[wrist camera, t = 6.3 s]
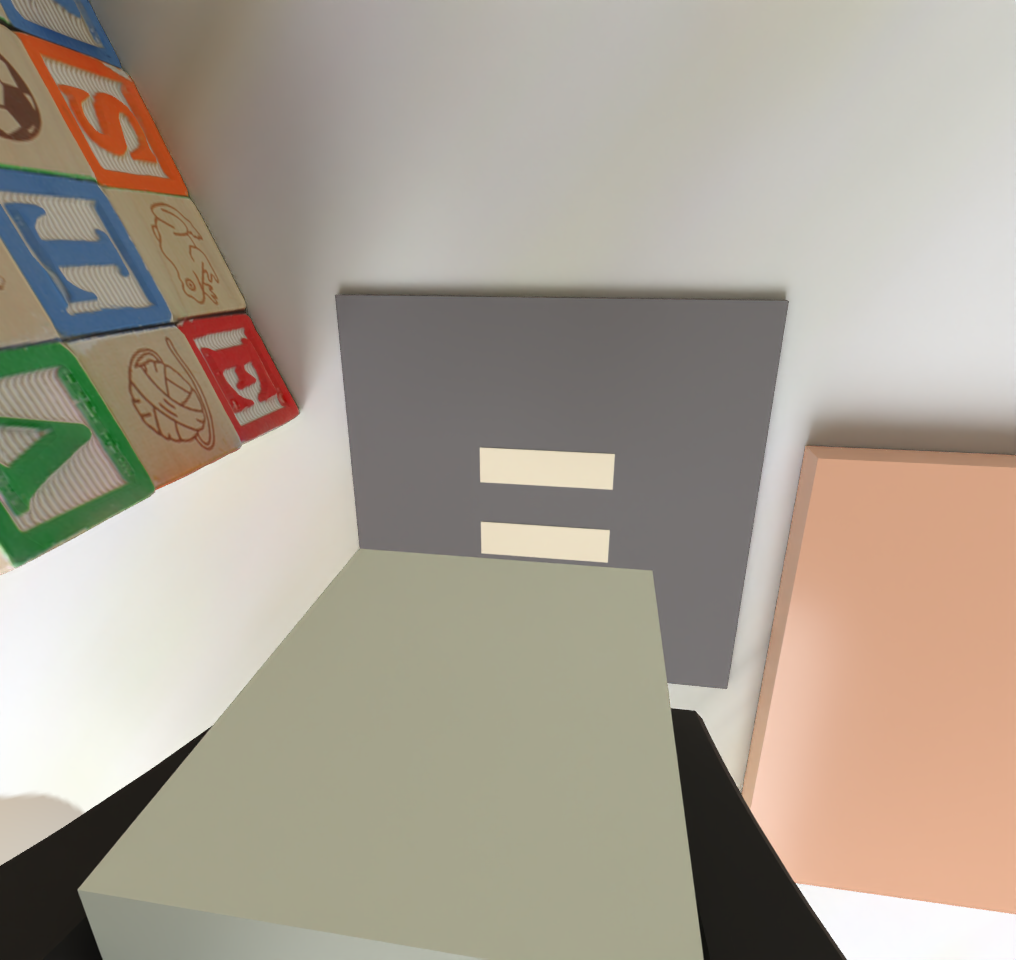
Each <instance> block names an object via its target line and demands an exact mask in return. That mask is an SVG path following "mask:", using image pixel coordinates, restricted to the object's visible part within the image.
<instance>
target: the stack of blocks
mask: <svg viewBox="0 0 1016 960" xmlns="http://www.w3.org/2000/svg"><path fill="white" fill-rule="evenodd" d="M245 308H246V303H245V300H244V298H243V296H242V294H241V293H240V291H239V289H238V287H237V285H236V283H235V281H234V279H233V277H232V275H231V273H230V271H229V269H228V267H227V265H226V263H225V261H224V259H223V257H222V255H221V253H220V251H219V249H218V248H217V246H216V244H215V242H214V240H213V238H212V236H211V234H210V232H209V230H208V228H207V226H206V224H205V222H204V220H203V218H202V217H201V215H200V213H199V211H198V210H197V208H196V206H195V205H194V203H193V202H192V201H191V199H190V198H189V196H188V191H187V188H186V186H185V184H184V182H183V180H182V177H181V175H180V173H179V171H178V169H177V167H176V165H175V163H174V161H173V159H172V157H171V156H170V154H169V152H168V150H167V148H166V146H165V144H164V142H163V140H162V138H161V136H160V134H159V132H158V130H157V128H156V126H155V123H154V121H153V119H152V117H151V115H150V114H149V112H148V110H147V108H146V106H145V104H144V102H143V100H142V98H141V97H140V95H139V93H138V91H137V88H136V86H135V84H134V82H133V80H132V79H131V77H130V76H129V75H128V74H127V73H125V72H124V71H123V70H122V67H121V64H120V61H119V59H118V57H117V55H116V53H115V51H114V49H113V47H112V45H111V43H110V41H109V39H108V38H107V36H106V34H105V32H104V30H103V28H102V26H101V25H100V23H99V21H98V19H97V17H96V15H95V13H94V11H93V9H92V7H91V5H90V3H89V1H88V0H0V575H2V574H4V573H7V572H9V571H11V570H14V569H16V568H18V567H20V566H22V565H24V564H26V563H28V562H30V561H32V560H33V559H35V558H37V557H39V556H41V555H43V554H45V553H47V552H49V551H51V550H52V549H54V548H56V547H58V546H60V545H62V544H64V543H66V542H68V541H69V540H71V539H73V538H75V537H77V536H79V535H80V534H82V533H84V532H86V531H88V530H89V529H91V528H93V527H95V526H97V525H99V524H100V523H102V522H104V521H106V520H108V519H109V518H111V517H113V516H115V515H117V514H119V513H120V512H122V511H124V510H126V509H128V508H130V507H132V506H133V505H135V504H137V503H139V502H141V501H143V500H145V499H146V498H148V497H150V496H151V495H152V494H153V493H155V490H157V489H159V488H161V487H164V486H166V485H168V484H170V483H173V482H175V481H177V480H179V479H181V478H183V477H185V476H187V475H189V474H191V473H193V472H195V471H197V470H199V469H201V468H202V467H204V466H206V465H208V464H211V463H213V462H215V461H217V460H219V459H221V458H222V457H224V456H226V455H228V454H230V453H233V452H235V451H237V450H238V449H240V447H241V446H242V444H245V443H247V442H249V441H251V440H253V439H256V438H258V437H260V436H262V435H264V434H266V433H268V432H270V431H272V430H275V429H277V428H278V427H280V426H282V425H284V424H286V423H287V422H289V421H291V420H292V419H294V418H295V417H297V416H298V415H299V414H300V412H299V410H298V407H297V405H296V403H295V402H294V400H293V398H292V396H291V394H290V393H289V391H288V389H287V387H286V385H285V383H284V381H283V379H282V377H281V376H280V374H279V372H278V370H277V368H276V366H275V364H274V363H273V361H272V359H271V357H270V355H269V353H268V351H267V350H266V348H265V346H264V343H263V341H262V339H261V337H260V336H259V334H258V333H257V331H256V330H255V327H254V325H253V323H252V320H251V319H250V317H249V316H248V315H247V314H246V313H245Z"/></svg>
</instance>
